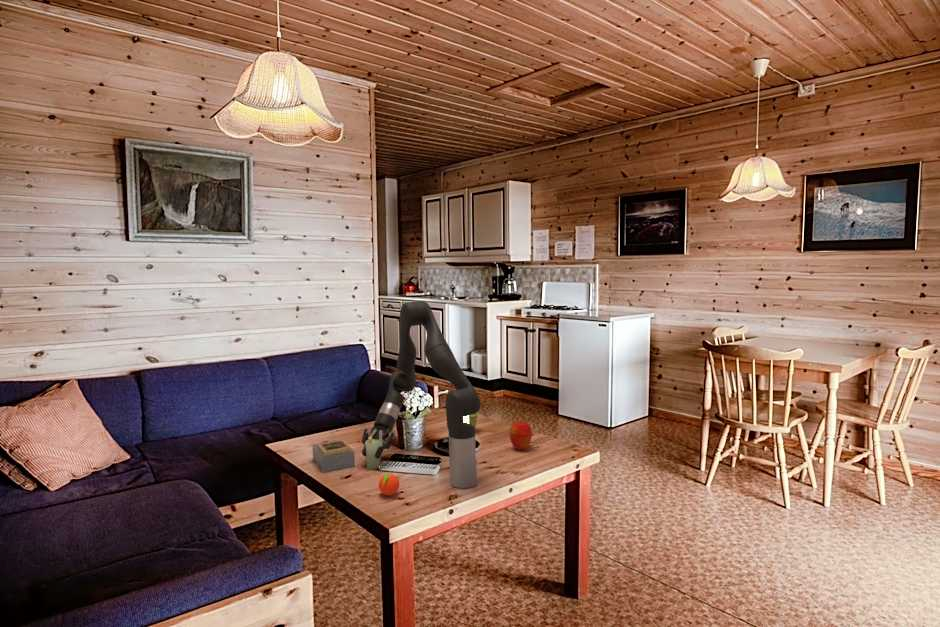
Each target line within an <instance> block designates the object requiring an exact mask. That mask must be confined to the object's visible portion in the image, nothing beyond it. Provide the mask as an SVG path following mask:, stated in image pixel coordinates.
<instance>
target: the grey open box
mask: <svg viewBox="0 0 940 627" xmlns="http://www.w3.org/2000/svg"><path fill="white" fill-rule="evenodd" d="M311 449H312V460H313V461H314V463H315V464H316V465H317V467H318V468H319V469H320V471H321V472H322V473H323V474H325V473H329V472H333V471H339V470H344V469H349V468H354V467H356V463H355V461H356V460H355V450H354V449H352V447H351V446H350V445H349V444H348V443H347V442H346V441H345V440H344V439H337V440H332V441H326V442H321V443H315V444H314V443H313V444H312V447H311Z"/></svg>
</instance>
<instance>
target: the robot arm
mask: <svg viewBox="0 0 940 627" xmlns="http://www.w3.org/2000/svg"><path fill="white" fill-rule="evenodd" d="M399 312H400V313H399V348H398V349H399V350H398V356H397V361H396V362H397V363H396V367H397V369H398V370H394V371H393V372H392V373H391V375H390V378H389V383H388V384H389V387H388V390H387V394H386V397H385V399H384V402H383V404H381V407H380V408H379V412H378V413H377V416H376V418H375V420H374V422H373V423H374V424H373V426H372V428H371V429H368V428H365V429H363V434H362V437H361V443H362V444H363V445H364V446H363V449H362V450H361V454H362V456H363V457H366V441H367V440H369V437H372V439H378V440H379V447H378V449H377V451H376V454H375V457H376V458H377V459H379V457H380V458H381V456H382V454H383V452H384V450H389V449H390V447H391V446H392V445H393V443H394V441H395V440H396V438H397V435H396V434H395V433H394V432H392V431H393V429H394V427H395V425H396V422H397V420H398V418H399V415H400V411H401V408H402V407H403V403H404V402H405V396H404V395H403V394H402V393H401V392H399V391H404V392H407V393H410V392H409V391H411V392H412V391H414V389H415V387H416V384H417V377H416V371H415V366H416V358H417V349H416V348H417V347H416V346H415V343H414V341H413V339H412V336H411V333H410V331H411V328H412V327H414V326H423V327H424V330H425V332H426V340H425V344H424V354H425V357H426V359H427V361H428V364H429V365H430V367H431V368H432V369H433V371H434V372H435V373H437V374H438V375H439V376H441V377H443V378H444V379H445V380H447V381H448V382H449V383H450V384H452V386H453V387H454V388H455V389H454V390H450V391H449V392H447V394H446V396H445V413H446V414H445V415H446V416H445V417H446V428H447V430H448V454H449V455H448V456H449V465H448V466H449V484H450V486H452V487H455V488H458V489H461V490H462V489H467V488H471V487H475V486H478V471H477V468H478V466H477V464H478V463H477V456H476V455H477V451H476V449H477V448H476V445H477V444H476V429H475V427H474V426H473V425H471V424H467V423H463V416H467V415H471V414H475V413H477V412H478V413H479V411H480V410H481V399H480V396H479V394H478V391H477V390H476V389H475V388H474V386H473V385H472V383H471V381H470V380H469V379H468V378H467V376H466V374H465V373H464V371H463V369H462V367H461V366H460V364H459V363H458V361H457V359H456V357H455V354H454V353H453V351H452V349H451V347H450V345H449V344H448V342H447V340H446V339H445V337H444V335H443V333H442V331H441V329H440V327H439V325H438V323H437V319H436V317H435V315H434V312H433V310H432V308H431V306H430V305H429V303H428V302H427V301H424V300H420V301H419V300H418V301H408V302H407V301H406V302H404V303H403V304H401V307H400V311H399ZM396 389H397V390H396ZM398 390H399V391H398Z"/></svg>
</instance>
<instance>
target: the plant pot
mask: <svg viewBox="0 0 940 627" xmlns="http://www.w3.org/2000/svg"><path fill="white" fill-rule="evenodd" d="M479 415H480V414H479V411H478V412H477V413H475V414H471V415H470V424H471V425H473V426H474V427H475V430H476V427H477V420H478V417H479Z"/></svg>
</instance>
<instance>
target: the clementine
mask: <svg viewBox="0 0 940 627" xmlns="http://www.w3.org/2000/svg"><path fill="white" fill-rule="evenodd" d="M378 489H379V491H380V493H381V494H382V495H385V496H389V497H390V496H393V495H395V494H396V493H397V492H398V491H399V489H400V480H399V478H398V477H397V476H396V475H395V474H392V473H387V474H384V475H382V476H381V478H379V481H378Z"/></svg>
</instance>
